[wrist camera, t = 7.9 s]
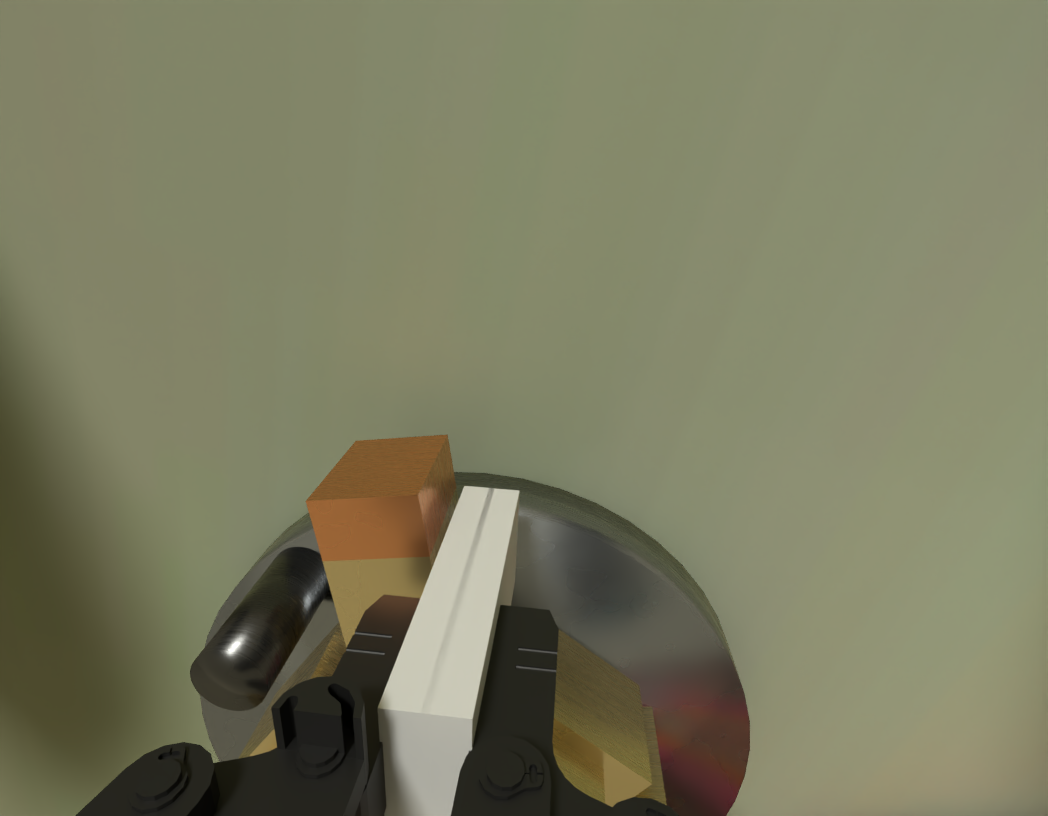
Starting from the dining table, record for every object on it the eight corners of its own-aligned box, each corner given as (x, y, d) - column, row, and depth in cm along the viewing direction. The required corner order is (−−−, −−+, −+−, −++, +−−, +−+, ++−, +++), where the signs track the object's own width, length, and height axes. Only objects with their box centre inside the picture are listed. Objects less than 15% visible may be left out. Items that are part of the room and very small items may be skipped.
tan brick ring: (658, 878, 20) (678, 1044, 16) (329, 871, 22) (275, 1024, 18) (641, 421, 14) (667, 514, 10) (182, 452, 15) (50, 545, 12)
